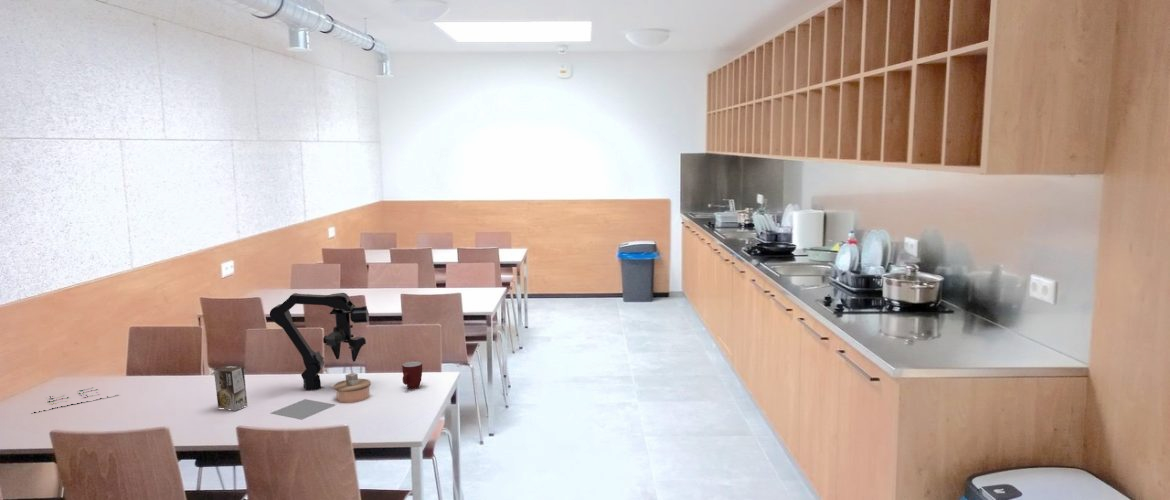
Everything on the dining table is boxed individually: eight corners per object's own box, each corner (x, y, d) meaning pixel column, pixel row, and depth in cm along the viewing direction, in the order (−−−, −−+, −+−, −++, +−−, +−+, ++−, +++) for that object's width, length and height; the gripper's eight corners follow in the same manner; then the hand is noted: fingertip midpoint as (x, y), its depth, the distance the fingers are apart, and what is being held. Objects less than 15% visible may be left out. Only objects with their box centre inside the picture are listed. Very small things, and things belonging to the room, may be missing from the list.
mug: (415, 392, 303) (413, 369, 301) (397, 391, 304) (395, 368, 303) (426, 384, 313) (425, 361, 311) (409, 383, 315) (407, 361, 313)
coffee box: (248, 406, 293) (244, 366, 291) (235, 411, 287) (231, 371, 285) (230, 404, 296) (226, 364, 294) (217, 409, 290) (213, 369, 288)
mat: (269, 415, 281) (269, 413, 281) (305, 401, 296) (305, 399, 296) (302, 422, 273) (301, 419, 273) (336, 407, 288) (336, 404, 288)
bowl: (331, 402, 294) (330, 388, 294) (353, 392, 305) (352, 379, 304) (353, 406, 289) (352, 392, 288) (375, 396, 299) (374, 383, 299)
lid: (326, 389, 293) (325, 377, 293) (352, 379, 306) (351, 367, 305) (352, 393, 287) (351, 381, 286) (378, 382, 299) (377, 371, 298)
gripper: (311, 326, 305) (314, 363, 307) (345, 330, 296) (348, 368, 299) (332, 320, 315) (335, 356, 317) (365, 323, 306) (368, 360, 308)
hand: (345, 360), depth 310 cm, fingers open, 9 cm apart
